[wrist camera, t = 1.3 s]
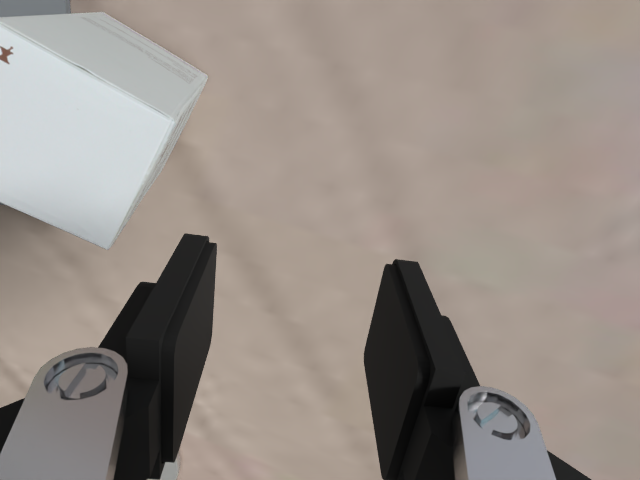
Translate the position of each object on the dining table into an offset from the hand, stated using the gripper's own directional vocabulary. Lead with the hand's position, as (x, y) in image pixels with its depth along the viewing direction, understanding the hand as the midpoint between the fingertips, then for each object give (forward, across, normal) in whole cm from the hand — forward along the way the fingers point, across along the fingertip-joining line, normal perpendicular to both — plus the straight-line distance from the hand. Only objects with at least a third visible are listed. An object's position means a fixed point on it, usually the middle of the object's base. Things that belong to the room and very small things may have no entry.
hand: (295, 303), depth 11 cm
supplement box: (+22, +11, 0) cm, 25 cm away
